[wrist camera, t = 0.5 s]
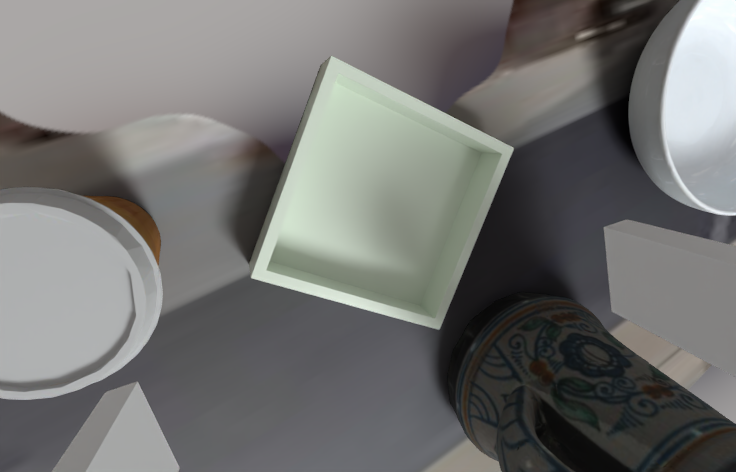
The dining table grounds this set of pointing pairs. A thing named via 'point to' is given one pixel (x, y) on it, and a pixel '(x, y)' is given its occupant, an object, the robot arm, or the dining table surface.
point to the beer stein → (575, 397)
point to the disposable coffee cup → (73, 289)
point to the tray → (378, 199)
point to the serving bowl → (689, 105)
